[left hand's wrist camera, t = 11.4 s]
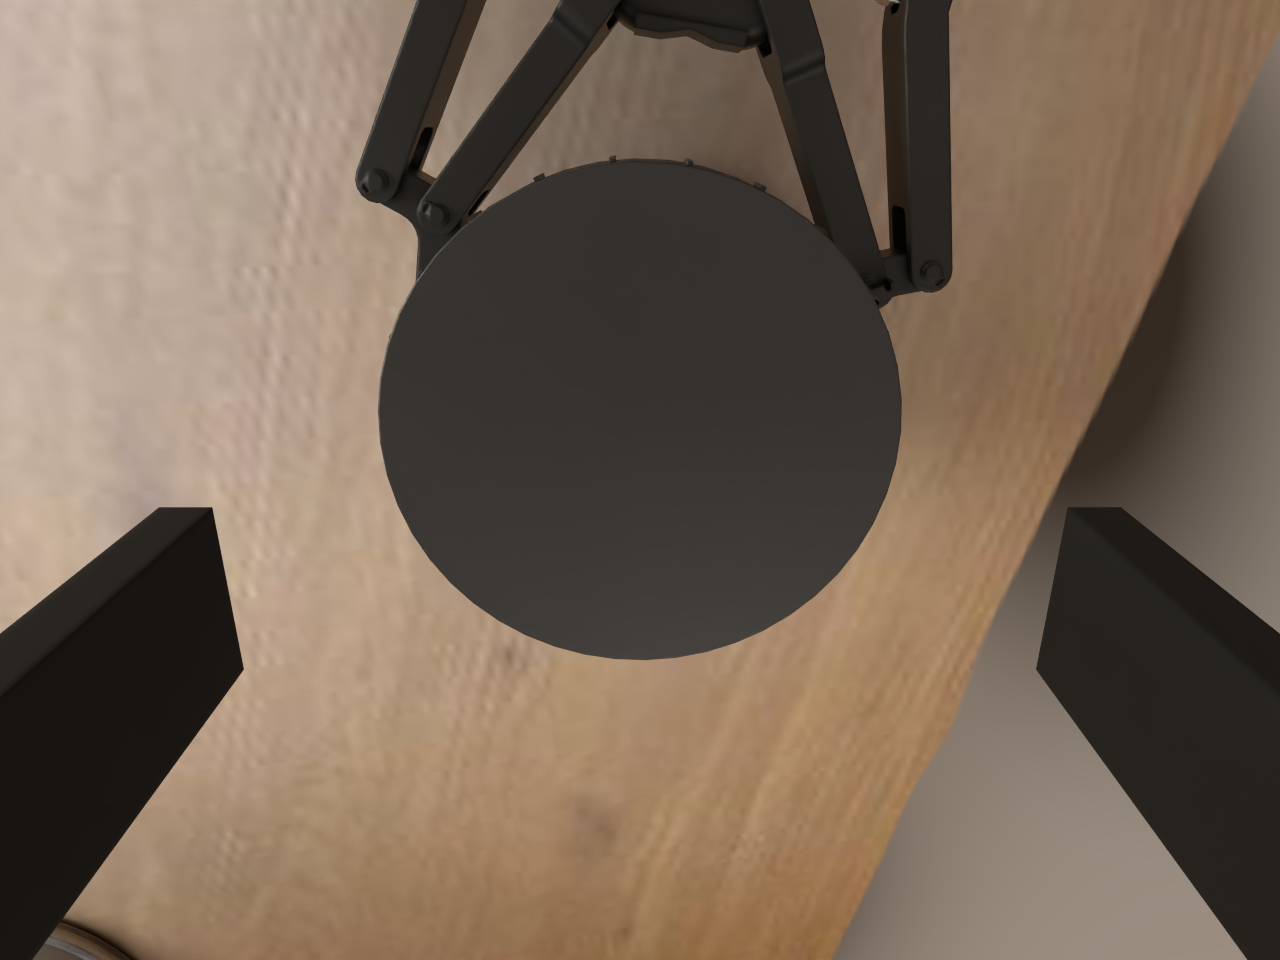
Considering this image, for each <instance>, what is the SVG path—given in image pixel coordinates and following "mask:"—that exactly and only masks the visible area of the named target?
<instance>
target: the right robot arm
mask: <svg viewBox="0 0 1280 960" xmlns="http://www.w3.org/2000/svg"><path fill="white" fill-rule="evenodd" d="M875 1H876V2H877V3H879V4H881V5H883V6H886V7H885V11H884V19H883V28H882V60H883V86H884V111H885V136H886V161H887V186H888V211H889V236H890V249H885V250H879V247H878V244H877V240H876V237H875V234H874V230H873V227H872V223H871V220H870V217H869V213H868V210H867V207H866V203H865V200H864V196H863V193H862V190H861V186H860V183H859V180H858V176H857V173H856V170H855V166H854V163H853V159H852V156H851V153H850V149H849V146H848V143H847V139H846V136H845V132H844V129H843V126H842V122H841V119H840V116H839V112H838V109H837V106H836V102H835V99H834V95H833V92H832V89H831V85H830V82H829V79H828V75H827V72H826V68H825V55H824V49H823V45H822V42H821V38H820V35H819V31H818V28H817V25H816V21H815V18H814V15H813V11H812V8H811V4H810V1H809V0H561V1H560V2H559V4H558V6H557V7H556V9H555V11H554V13H553V15H552V17H551V19H550V20H549V22H548V23H547V25H546V26H545V28H544V29H543V30H542V32H541V33H540V35H539V36H538V37H537V39H536V40H535V42H534V43H533V44H532V46H531V47H530V49H529V50H528V51H527V53H526V54H525V56H524V57H523V58H522V60H521V61H520V63H519V64H518V65H517V67H516V68H515V69H514V71H513V72H512V74H511V75H510V76H509V78H508V79H507V81H506V82H505V83H504V85H503V86H502V88H501V89H500V90H499V92H498V93H497V95H496V96H495V97H494V99H493V100H492V102H491V103H490V104H489V106H488V107H487V109H486V110H485V111H484V113H483V114H482V116H481V117H480V118H479V120H478V121H477V123H476V124H475V125H474V127H473V128H472V130H471V131H470V132H469V134H468V135H467V137H466V138H465V139H464V141H463V142H462V144H461V145H460V146H459V148H458V149H457V151H456V152H455V153H454V155H453V156H452V157H451V159H450V160H449V162H448V163H447V164H446V166H445V167H444V169H443V170H442V171H441V173H440V174H439V176H438V177H437V178H436V179H435V178H434V177H432V176H430V175H428V174H426V173H425V172H423V171H421V170H422V168H423V165H424V162H425V160H426V157H427V154H428V152H429V149H430V147H431V144H432V141H433V139H434V136H435V133H436V131H437V128H438V126H439V123H440V120H441V118H442V115H443V112H444V110H445V107H446V105H447V102H448V99H449V97H450V94H451V91H452V89H453V86H454V84H455V81H456V78H457V76H458V73H459V70H460V68H461V65H462V63H463V60H464V57H465V55H466V52H467V50H468V47H469V44H470V42H471V39H472V36H473V34H474V31H475V29H476V26H477V23H478V21H479V18H480V15H481V13H482V10H483V8H484V5H485V2H486V0H417V2H416V5H415V8H414V11H413V13H412V16H411V19H410V22H409V25H408V27H407V30H406V33H405V36H404V39H403V41H402V44H401V47H400V50H399V53H398V56H397V58H396V61H395V64H394V67H393V70H392V72H391V75H390V78H389V81H388V84H387V86H386V89H385V92H384V95H383V98H382V101H381V103H380V106H379V109H378V112H377V115H376V117H375V120H374V123H373V126H372V129H371V131H370V134H369V137H368V140H367V143H366V146H365V148H364V151H363V154H362V157H361V160H360V162H359V165H358V168H357V171H356V177H355V181H356V186H357V189H358V190H359V192H360V193H361V195H362V196H363V197H364V198H366V199H367V200H369V201H371V202H375V203H381V204H383V205H385V206H387V207H388V208H390V209H392V210H394V211H396V212H398V213H399V214H401V215H403V216H404V217H406V218H407V219H408V220H409V221H410V222H411V223H412V224H413V226H414V228H415V230H416V232H417V236H418V254H417V270H416V281H417V279H418V278H419V277H420V275H419V272H420V271H421V270H422V269H424V268H425V267H427V266H428V264H429V263H430V262H431V260H432V259H433V258H434V256H435V255H436V254H437V253H438V252H439V251H440V250H441V248H442V247H443V246H444V245H445V244H446V243H447V242H448V241H449V240H450V239H451V238H452V237H453V236H454V235H455V234H456V233H457V232H458V231H459V230H460V229H461V228H462V227H464V226H465V225H466V224H467V223H469V221H470V220H469V219H468V218H469V217H470V216H471V215H473V214H474V213H475V212H476V210H477V209H478V208H479V206H480V205H481V204H482V202H483V201H484V200H485V198H486V197H487V196H488V194H489V193H490V191H491V190H492V189H493V187H494V186H495V185H496V183H497V182H498V181H499V179H500V178H501V177H502V175H503V174H504V173H505V171H506V170H507V169H508V167H509V166H510V164H511V163H512V162H513V160H514V159H515V158H516V156H517V155H518V154H519V152H520V151H521V150H522V148H523V147H524V146H525V144H526V143H527V142H528V140H529V139H530V137H531V136H532V135H533V133H534V132H535V131H536V129H537V128H538V127H539V125H540V124H541V123H542V121H543V120H544V119H545V117H546V116H547V115H548V113H549V112H550V111H551V109H552V108H553V106H554V105H555V104H556V102H557V101H558V100H559V98H560V97H561V96H562V94H563V93H564V92H565V90H566V89H567V88H568V86H569V85H570V84H571V82H572V81H573V79H574V78H575V77H576V75H577V74H578V73H579V71H580V70H581V69H582V67H583V66H584V65H585V63H586V62H587V61H588V59H589V58H590V57H591V56H592V54H593V53H594V52H595V51H596V50H597V49H598V48H599V47H600V45H601V44H602V43H603V41H604V40H605V39H606V37H607V36H608V35H609V33H610V32H611V31H612V29H613V28H614V27H615V25H616V24H617V22H618V21H619V22H620V23H621V24H622V25H624V26H625V27H627V28H628V29H630V30H632V31H634V35H639V36H644V37H650V38H656V39H666V38H675V37H683V36H688V37H691V38H693V39H695V40H697V41H699V42H701V43H703V44H705V45H707V46H709V47H711V48H713V49H718V50H724V51H729V52H735V53H739V52H740V51H741V50H747V49H751V48H754V47H756V49H757V52H758V55H759V59H760V62H761V65H762V68H763V71H764V74H765V76H766V79H767V81H768V83H769V85H770V86H771V89H772V92H773V95H774V98H775V101H776V104H777V107H778V110H779V113H780V116H781V120H782V123H783V126H784V129H785V132H786V135H787V138H788V141H789V145H790V148H791V151H792V154H793V157H794V160H795V163H796V166H797V170H798V173H799V176H800V179H801V182H802V185H803V188H804V191H805V195H806V198H807V201H808V204H809V207H810V210H811V213H812V217H813V220H814V223H815V224H816V225H818V226H819V227H821V228H823V229H825V230H826V231H827V232H828V233H827V234H826V236H827V237H828V238H829V239H830V240H831V241H832V242H833V243H834V244H835V245H836V246H837V247H838V248H839V250H840V251H841V252H842V253H843V255H844V256H845V257H846V258H847V259H848V261H849V262H850V263H851V264H852V266H853V267H854V268H855V269H856V271H857V272H858V273H859V275H860V277H861V278H862V280H863V282H864V283H865V285H867V286H868V287H869V288H870V289H871V291H872V292H870V293H871V295H872V297H873V298H874V300H875V302H876V304H877V306H878V309H879V308H881V307H883V306H885V305H886V304H888V302H889V301H890V300H891V298H892V297H894V296H898V295H903V294H908V293H913V292H918V291H923V292H931V293H933V292H936V291H939V290H941V289H942V288H943V287H944V286H946V285H947V283H948V282H949V280H950V278H951V274H952V209H951V140H950V70H949V10H950V7H951V3H952V0H875Z"/></svg>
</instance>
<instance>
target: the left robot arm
mask: <svg viewBox="0 0 1280 960" xmlns="http://www.w3.org/2000/svg"><path fill="white" fill-rule="evenodd" d="M243 670H244V668H243V663H242V658H241V652H240V647H239V642H238V637H237V632H236V627H235V622H234V617H233V611H232V606H231V601H230V596H229V591H228V586H227V581H226V576H225V570H224V565H223V560H222V555H221V550H220V545H219V540H218V535H217V530H216V524H215V519H214V514H213V509H212V507H159V508H158V509H157V510H155V511H154V512H153V513H152V514H150V515H149V516H148V517H147V518H145V519H144V520H143V521H142V522H140V523H139V524H138V525H136V526H135V527H134V528H133V529H131V530H130V531H129V532H128V533H126V534H125V535H124V536H123V537H121V538H120V539H119V540H118V541H116V542H115V543H114V544H113V545H111V546H110V547H109V548H108V549H106V550H105V551H104V552H103V553H101V554H100V555H99V556H97V557H96V558H95V559H94V560H92V561H91V562H90V563H89V564H87V565H86V566H85V567H84V568H82V569H81V570H80V571H79V572H77V573H76V574H75V575H74V576H72V577H71V578H70V579H69V580H67V581H66V582H65V583H63V584H62V585H61V586H60V587H58V588H57V589H56V590H55V591H53V592H52V593H51V594H50V595H48V596H47V597H46V598H45V599H43V600H42V601H41V602H40V603H38V604H37V605H36V606H35V607H33V608H32V609H31V610H30V611H28V612H27V613H26V614H24V615H23V616H22V617H21V618H19V619H18V620H17V621H16V622H14V623H13V624H12V625H11V626H9V627H8V628H7V629H6V630H4V631H3V632H2V633H1V634H0V960H130V959H129V958H128V957H127V956H126V955H124V954H123V953H122V952H120V951H119V950H117V949H116V948H114V947H113V946H111V945H110V944H108V943H106V942H105V941H103V940H101V939H99V938H98V937H96V936H94V935H92V934H90V933H87V932H85V931H83V930H81V929H78V928H76V927H73V926H71V925H68V924H65V923H62V922H60V921H61V920H62V919H63V917H64V916H65V914H66V913H67V912H68V910H69V909H70V908H71V906H72V905H73V903H74V902H75V901H76V899H77V898H78V897H79V895H80V894H81V892H82V891H83V890H84V888H85V887H86V886H87V884H88V883H89V881H90V880H91V879H92V877H93V876H94V875H95V873H96V872H97V871H98V869H99V868H100V866H101V865H102V864H103V862H104V861H105V860H106V858H107V857H108V855H109V854H110V853H111V851H112V850H113V849H114V847H115V846H116V844H117V843H118V842H119V840H120V839H121V838H122V836H123V835H124V833H125V832H126V831H127V829H128V828H129V827H130V825H131V824H132V822H133V821H134V820H135V818H136V817H137V816H138V814H139V813H140V811H141V810H142V809H143V807H144V806H145V805H146V803H147V802H148V800H149V799H150V798H151V796H152V795H153V794H154V792H155V791H156V789H157V788H158V787H159V785H160V784H161V783H162V781H163V780H164V778H165V777H166V776H167V774H168V773H169V772H170V770H171V769H172V767H173V766H174V765H175V763H176V762H177V761H178V759H179V758H180V756H181V755H182V754H183V752H184V751H185V750H186V748H187V747H188V746H189V744H190V743H191V741H192V740H193V739H194V737H195V736H196V735H197V733H198V732H199V730H200V729H201V728H202V726H203V725H204V724H205V722H206V721H207V719H208V718H209V717H210V715H211V714H212V713H213V711H214V710H215V708H216V707H217V706H218V704H219V703H220V702H221V700H222V699H223V697H224V696H225V695H226V693H227V692H228V691H229V689H230V688H231V686H232V685H233V684H234V682H235V681H236V680H237V678H238V677H239V675H240V674H241V673H242V671H243ZM1036 670H1037V671H1038V673H1039V674H1040V675H1041V677H1042V678H1043V680H1044V681H1045V682H1046V684H1047V685H1048V686H1049V688H1050V689H1051V691H1052V692H1053V693H1054V695H1055V696H1056V697H1057V699H1058V700H1059V702H1060V703H1061V704H1062V706H1063V707H1064V708H1065V710H1066V711H1067V713H1068V714H1069V715H1070V717H1071V718H1072V719H1073V721H1074V722H1075V724H1076V725H1077V726H1078V728H1079V729H1080V730H1081V732H1082V733H1083V735H1084V736H1085V737H1086V739H1087V740H1088V741H1089V743H1090V744H1091V746H1092V747H1093V748H1094V750H1095V751H1096V752H1097V754H1098V755H1099V756H1100V758H1101V759H1102V761H1103V762H1104V763H1105V765H1106V766H1107V767H1108V769H1109V770H1110V772H1111V773H1112V774H1113V776H1114V777H1115V778H1116V780H1117V781H1118V783H1119V784H1120V785H1121V787H1122V788H1123V789H1124V791H1125V792H1126V794H1127V795H1128V796H1129V798H1130V799H1131V800H1132V802H1133V803H1134V804H1135V806H1136V807H1137V809H1138V810H1139V811H1140V813H1141V814H1142V816H1143V817H1144V818H1145V820H1146V821H1147V822H1148V824H1149V825H1150V827H1151V828H1152V829H1153V831H1154V832H1155V833H1156V835H1157V836H1158V838H1159V839H1160V840H1161V842H1162V843H1163V844H1164V846H1165V847H1166V849H1167V850H1168V851H1169V853H1170V854H1171V855H1172V857H1173V858H1174V860H1175V861H1176V862H1177V864H1178V865H1179V866H1180V868H1181V869H1182V871H1183V872H1184V873H1185V875H1186V876H1187V877H1188V879H1189V880H1190V881H1191V883H1192V884H1193V886H1194V887H1195V888H1196V890H1197V891H1198V892H1199V894H1200V895H1201V897H1202V898H1203V899H1204V901H1205V902H1206V903H1207V905H1208V906H1209V908H1210V909H1211V910H1212V912H1213V913H1214V914H1215V916H1216V917H1217V918H1218V920H1219V921H1220V923H1221V924H1222V925H1223V927H1224V928H1225V929H1226V931H1227V932H1228V934H1229V935H1230V936H1231V938H1232V939H1233V941H1234V942H1235V943H1236V945H1237V946H1238V947H1239V949H1240V950H1241V951H1242V953H1243V954H1244V956H1245V957H1246V958H1247V960H1280V634H1279V633H1278V632H1277V631H1276V630H1274V629H1273V628H1272V627H1271V626H1269V625H1268V624H1267V623H1266V622H1264V621H1263V620H1262V619H1260V618H1259V617H1258V616H1257V615H1255V614H1254V613H1253V612H1252V611H1250V610H1249V609H1248V608H1247V607H1245V606H1244V605H1243V604H1241V603H1240V602H1239V601H1238V600H1237V599H1235V598H1234V597H1233V596H1232V595H1230V594H1229V593H1228V592H1227V591H1225V590H1224V589H1223V588H1222V587H1220V586H1219V585H1218V584H1216V583H1215V582H1214V581H1213V580H1211V579H1210V578H1209V577H1208V576H1206V575H1205V574H1204V573H1203V572H1201V571H1200V570H1199V569H1198V568H1196V567H1195V566H1194V565H1193V564H1191V563H1190V562H1189V561H1188V560H1186V559H1185V558H1184V557H1183V556H1181V555H1180V554H1179V553H1177V552H1176V551H1175V550H1174V549H1172V548H1171V547H1170V546H1169V545H1167V544H1166V543H1165V542H1164V541H1162V540H1161V539H1160V538H1159V537H1157V536H1156V535H1155V534H1154V533H1152V532H1151V531H1150V530H1149V529H1147V528H1146V527H1145V526H1144V525H1142V524H1141V523H1140V522H1138V521H1137V520H1136V519H1135V518H1133V517H1132V516H1131V515H1130V514H1128V513H1127V512H1126V511H1125V510H1123V509H1122V508H1121V507H1069V508H1068V509H1067V514H1066V519H1065V524H1064V530H1063V535H1062V540H1061V545H1060V550H1059V555H1058V560H1057V565H1056V571H1055V576H1054V581H1053V586H1052V591H1051V596H1050V601H1049V606H1048V611H1047V617H1046V622H1045V627H1044V632H1043V637H1042V642H1041V647H1040V652H1039V658H1038V663H1037V668H1036Z"/></svg>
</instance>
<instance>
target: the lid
mask: <svg viewBox="0 0 1280 960" xmlns="http://www.w3.org/2000/svg"><path fill="white" fill-rule="evenodd" d="M533 179H534V181H535V182H532V183H530V184H529V185H527V186H525V187H523V188H521V189H519V190H518V191H516V192H514V193H512V194H511V195H509V196H507V197H505V198H503V199H502V200H500V201H498V202H496V203H495V204H493V205H491V206H490V207H488V208H487V209H486V210H484V211H483V212H482V211H481V210H480V211H478V212H477V213H475V214H473V215H471V216H470V217H469V218H468V219H469V220H470V222H469V223H467V224H466V225H465V226H464V227H462V228H461V229H460V230H459V231H458V232H457V233H456V234H455V235H454V236H453V237H452V238H451V239H450V240H449V241H448V242H447V243H446V244H445V245H444V246H443V247H442V248H441V250H440V251H439V252H438V253H437V254H436V255H435V256H434V258H433V259H432V260H431V262H430V263H429V264H428V266H427V267H425V268H424V269H422V270H421V271H420V272H419V275H420V277H419V278H418V279H417V281H416V282H415V284H414V286H413V288H412V289H411V291H410V293H409V295H408V297H407V299H406V301H405V303H404V304H403V306H402V308H401V310H400V312H399V314H398V317H397V320H396V322H395V325H394V328H393V331H392V333H391V334H390V337H389V342H388V344H387V349H386V353H385V358H384V363H383V368H382V372H381V377H380V390H379V404H378V417H379V431H380V444H381V449H382V454H383V459H384V463H385V468H386V473H387V477H388V479H389V482H390V485H391V488H392V491H393V493H394V496H395V499H396V502H397V505H398V507H399V509H400V511H401V513H402V515H403V517H404V519H405V521H406V523H407V524H408V526H409V528H410V530H411V532H412V534H413V536H414V537H415V539H416V540H417V541H418V543H419V544H420V546H421V547H422V549H423V550H424V552H425V553H426V555H427V556H428V558H429V559H430V560H431V561H432V562H433V564H434V565H435V566H436V567H437V568H438V569H439V570H440V572H441V573H442V574H443V575H444V576H445V577H446V578H447V579H448V581H449V582H450V583H451V584H452V585H454V586H455V587H456V588H457V589H458V590H459V591H460V592H461V593H463V594H464V595H465V596H466V597H467V598H468V599H469V600H470V601H472V602H473V603H474V604H475V605H477V606H478V607H480V608H481V609H483V610H484V611H485V612H487V613H488V614H490V615H491V616H493V617H494V618H496V619H497V620H498V621H500V622H502V623H504V624H506V625H508V626H510V627H512V628H513V629H515V630H517V631H519V632H521V633H523V634H525V635H527V636H529V637H532V638H534V639H537V640H539V641H542V642H545V643H547V644H550V645H552V646H555V647H559V648H562V649H566V650H570V651H574V652H577V653H581V654H585V655H592V656H599V657H605V658H612V659H631V660H652V659H665V658H677V657H682V656H687V655H693V654H698V653H703V652H708V651H711V650H714V649H717V648H721V647H724V646H727V645H730V644H733V643H736V642H739V641H741V640H743V639H745V638H748V637H750V636H752V635H754V634H757V633H759V632H761V631H764V630H765V629H767V628H769V627H770V626H772V625H774V624H776V623H777V622H779V621H781V620H782V619H784V618H786V617H787V616H789V615H791V614H792V613H793V612H795V611H796V610H797V609H799V608H800V607H801V606H803V605H804V604H805V603H807V602H808V601H809V600H811V599H812V598H813V597H814V596H816V595H817V594H818V593H819V592H820V591H821V590H822V589H823V588H824V587H825V586H826V585H827V584H828V583H829V582H830V581H831V580H832V579H833V578H834V577H835V576H836V575H837V574H838V573H839V572H840V571H841V569H842V568H843V567H844V566H845V564H846V563H847V562H848V561H849V559H850V558H851V557H852V556H853V554H854V553H855V552H856V551H857V549H858V548H859V546H860V544H861V543H862V541H863V540H864V538H865V536H866V535H867V533H868V531H869V530H870V528H871V527H872V525H873V523H874V521H875V519H876V517H877V514H878V512H879V510H880V508H881V506H882V503H883V501H884V499H885V497H886V494H887V491H888V488H889V485H890V481H891V478H892V475H893V471H894V468H895V465H896V459H897V453H898V447H899V440H900V434H901V401H902V399H901V390H900V382H899V373H898V366H897V362H896V357H895V354H894V350H893V347H892V343H891V339H890V335H889V332H888V330H887V328H886V325H885V323H884V320H883V318H882V316H881V313H880V311H879V309H878V306H877V304H876V302H875V300H874V298H873V297H872V295H871V293H870V292H872V291H871V289H870V288H869V287H868V286H867V285H865V283H864V282H863V280H862V278H861V277H860V275H859V273H858V272H857V271H856V269H855V268H854V267H853V266H852V264H851V263H850V262H849V261H848V259H847V258H846V257H845V256H844V255H843V253H842V252H841V251H840V250H839V248H838V247H837V246H836V245H835V244H834V243H833V242H832V241H831V240H830V239H829V238H828V237H827V236H826V234H827V233H828V232H827V231H826V230H825V229H823V228H821V227H819V226H818V225H816V224H813V223H811V222H810V221H809V220H808V219H807V218H805V217H804V216H802V215H801V214H799V213H798V212H797V211H795V210H794V209H792V208H791V207H789V206H788V205H786V204H785V203H784V202H782V201H781V200H779V199H778V198H776V197H774V196H772V195H770V194H768V193H766V192H765V190H766V187H765V186H763V185H761V184H759V183H757V182H755V183H754V186H752V185H750V184H748V183H746V182H744V181H742V180H740V179H738V178H736V177H733V176H730V175H727V174H724V173H721V172H718V171H715V170H712V169H709V168H706V167H703V166H698V165H693V161H691V160H690V159H685V162H684V163H682V162H676V161H671V160H655V159H624V160H616V156H611V157H610V158H609V161H602V162H596V163H592V164H587V165H583V166H579V167H575V168H571V169H567V170H563V171H561V172H558V173H555V174H553V175H550V176H548V177H545V175H544V173H543V174H540V175H538V176H536V177H534V178H533Z"/></svg>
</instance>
